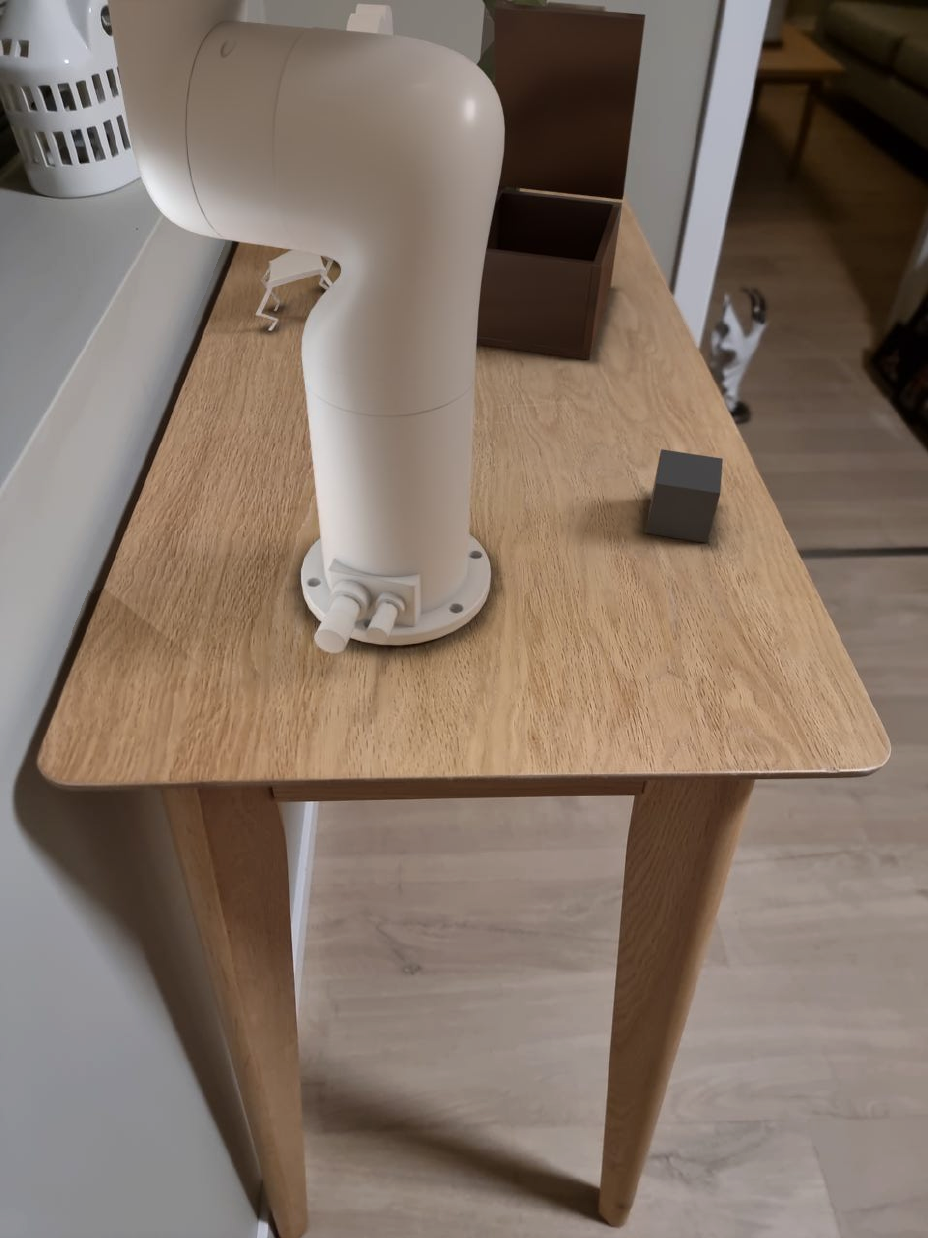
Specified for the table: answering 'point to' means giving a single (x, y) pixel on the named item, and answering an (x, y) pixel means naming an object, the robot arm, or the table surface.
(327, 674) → the table surface
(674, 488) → the block
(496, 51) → the lid
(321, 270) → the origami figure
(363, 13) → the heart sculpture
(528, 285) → the chest
